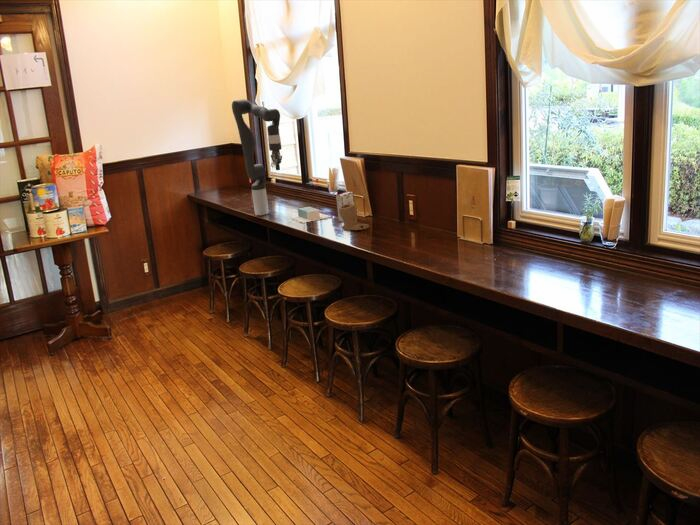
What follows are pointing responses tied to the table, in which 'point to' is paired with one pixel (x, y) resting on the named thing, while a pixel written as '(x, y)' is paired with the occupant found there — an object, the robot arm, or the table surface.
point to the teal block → (308, 213)
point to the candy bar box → (344, 201)
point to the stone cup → (350, 217)
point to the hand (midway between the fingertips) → (277, 170)
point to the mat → (303, 220)
